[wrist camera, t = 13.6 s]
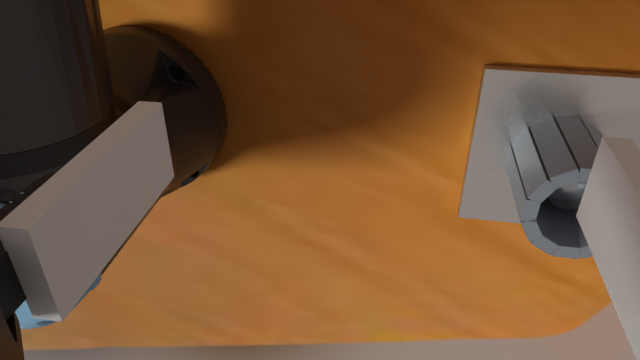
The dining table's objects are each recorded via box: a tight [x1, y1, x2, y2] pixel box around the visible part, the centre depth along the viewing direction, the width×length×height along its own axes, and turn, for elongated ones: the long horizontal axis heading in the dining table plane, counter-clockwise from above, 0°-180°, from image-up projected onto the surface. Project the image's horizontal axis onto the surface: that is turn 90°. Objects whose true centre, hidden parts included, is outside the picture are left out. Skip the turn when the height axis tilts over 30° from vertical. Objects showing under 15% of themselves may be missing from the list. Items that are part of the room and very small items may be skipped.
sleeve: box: [506, 117, 603, 259], centre depth 39 cm, size 8×8×8 cm
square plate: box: [458, 65, 640, 223], centre depth 41 cm, size 14×14×6 cm
